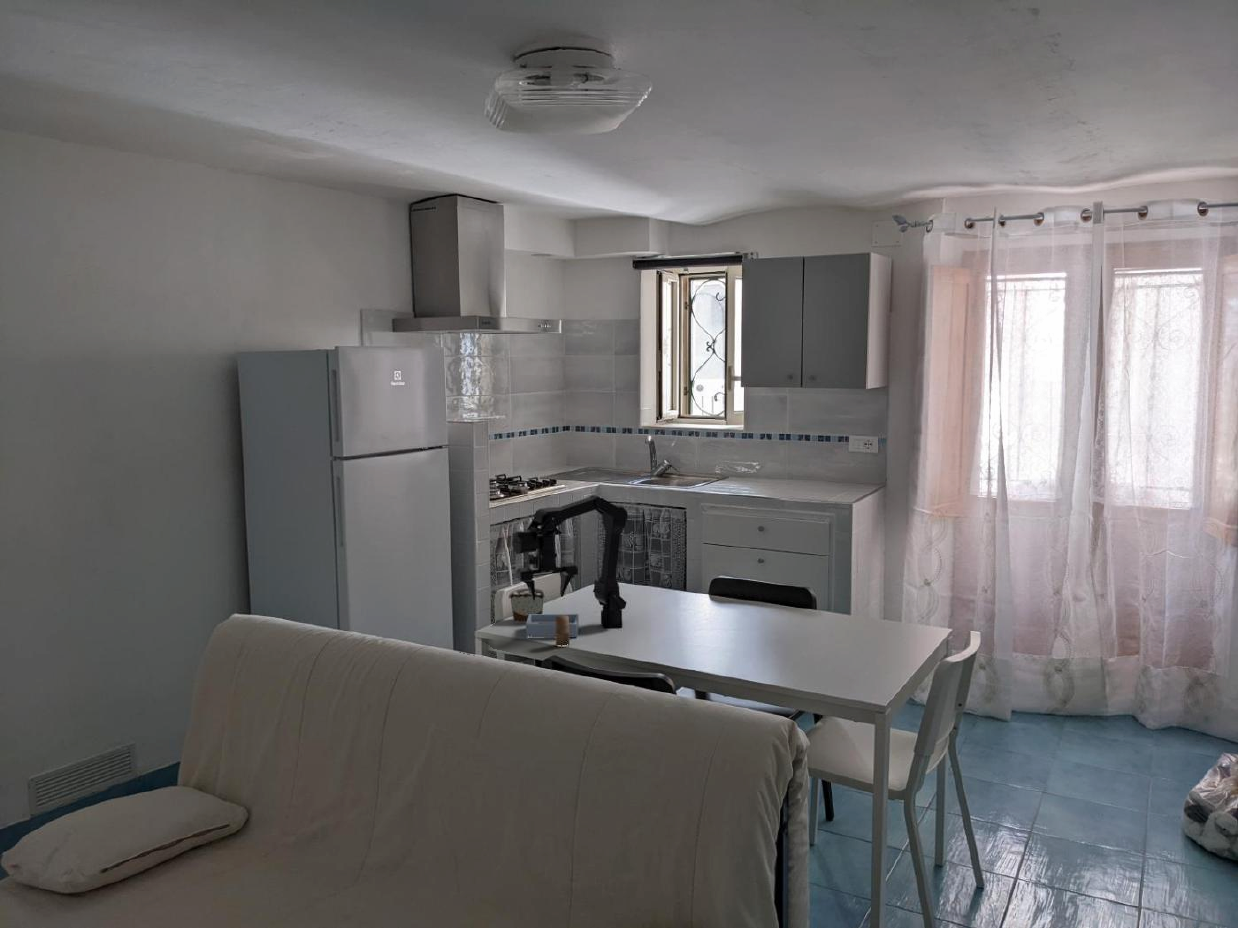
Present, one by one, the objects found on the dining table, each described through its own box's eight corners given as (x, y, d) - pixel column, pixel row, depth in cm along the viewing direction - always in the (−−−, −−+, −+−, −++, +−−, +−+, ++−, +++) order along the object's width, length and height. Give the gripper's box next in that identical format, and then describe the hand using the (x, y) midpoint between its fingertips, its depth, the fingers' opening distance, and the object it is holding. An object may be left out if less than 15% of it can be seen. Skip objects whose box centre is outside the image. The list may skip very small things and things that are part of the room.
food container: (549, 617, 321) (548, 588, 320) (545, 622, 315) (545, 593, 314) (513, 616, 322) (512, 587, 321) (509, 621, 316) (508, 592, 315)
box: (578, 627, 310) (578, 613, 309) (576, 637, 299) (576, 624, 298) (529, 627, 310) (529, 614, 309) (526, 638, 299) (525, 624, 298)
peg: (569, 643, 294) (569, 614, 293) (568, 647, 290) (568, 618, 289) (556, 643, 294) (556, 615, 293) (555, 647, 290) (555, 618, 289)
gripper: (566, 541, 306) (567, 588, 308) (510, 547, 299) (511, 595, 301) (578, 548, 296) (579, 597, 298) (520, 554, 289) (522, 604, 291)
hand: (547, 598), depth 297 cm, fingers open, 9 cm apart
